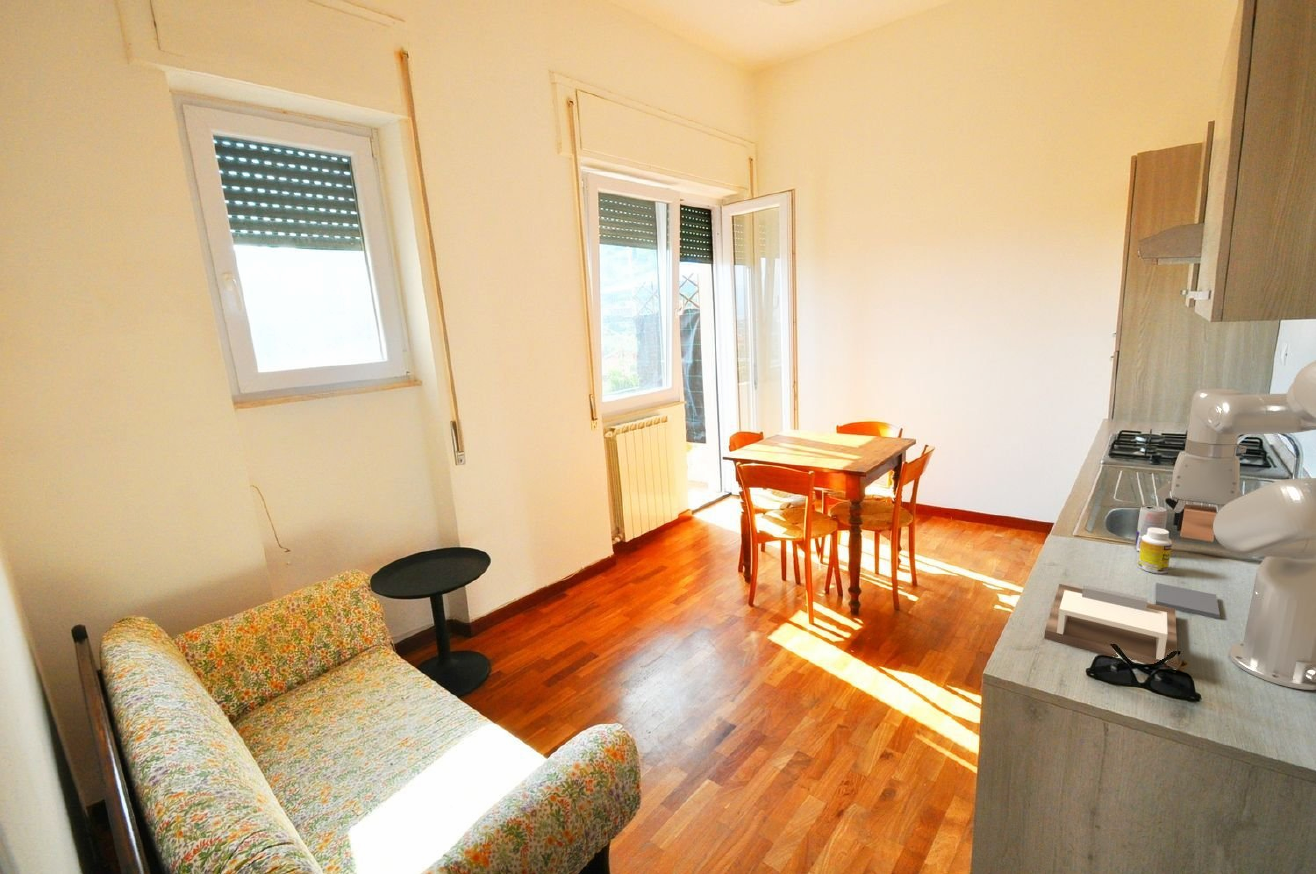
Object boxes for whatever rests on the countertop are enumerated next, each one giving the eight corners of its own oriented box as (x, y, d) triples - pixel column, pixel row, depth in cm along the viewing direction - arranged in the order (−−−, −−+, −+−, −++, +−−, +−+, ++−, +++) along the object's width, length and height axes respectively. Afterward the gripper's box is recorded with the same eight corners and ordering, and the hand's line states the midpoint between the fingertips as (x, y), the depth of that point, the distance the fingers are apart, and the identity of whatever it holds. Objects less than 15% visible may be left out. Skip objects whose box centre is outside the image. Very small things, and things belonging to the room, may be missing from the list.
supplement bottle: (1162, 576, 137) (1168, 536, 134) (1134, 568, 141) (1139, 530, 139) (1171, 569, 140) (1177, 530, 137) (1142, 562, 144) (1148, 524, 142)
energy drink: (1151, 547, 152) (1157, 504, 149) (1166, 556, 146) (1173, 511, 144) (1129, 547, 152) (1135, 505, 149) (1144, 556, 147) (1150, 512, 144)
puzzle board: (1058, 591, 133) (1059, 583, 133) (1173, 617, 120) (1175, 608, 120) (1044, 638, 116) (1045, 629, 116) (1176, 674, 103) (1177, 664, 103)
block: (1179, 528, 126) (1183, 502, 124) (1211, 533, 122) (1215, 507, 121) (1180, 536, 122) (1184, 510, 121) (1213, 541, 119) (1217, 514, 117)
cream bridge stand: (1062, 612, 121) (1065, 581, 119) (1163, 637, 110) (1168, 603, 109) (1056, 632, 114) (1060, 599, 112) (1163, 660, 104) (1168, 624, 102)
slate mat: (1215, 598, 126) (1216, 594, 126) (1219, 619, 119) (1219, 614, 119) (1155, 586, 133) (1156, 582, 132) (1155, 605, 125) (1156, 601, 125)
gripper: (1267, 449, 115) (1251, 533, 119) (1155, 440, 126) (1144, 518, 130) (1272, 458, 110) (1255, 546, 114) (1155, 448, 120) (1144, 529, 125)
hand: (1196, 530), depth 122 cm, fingers closed on block, 5 cm apart
